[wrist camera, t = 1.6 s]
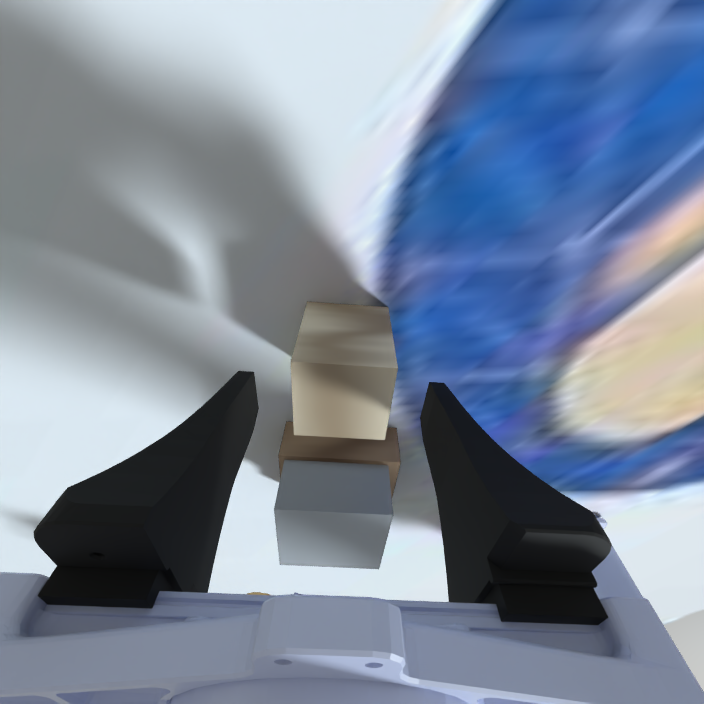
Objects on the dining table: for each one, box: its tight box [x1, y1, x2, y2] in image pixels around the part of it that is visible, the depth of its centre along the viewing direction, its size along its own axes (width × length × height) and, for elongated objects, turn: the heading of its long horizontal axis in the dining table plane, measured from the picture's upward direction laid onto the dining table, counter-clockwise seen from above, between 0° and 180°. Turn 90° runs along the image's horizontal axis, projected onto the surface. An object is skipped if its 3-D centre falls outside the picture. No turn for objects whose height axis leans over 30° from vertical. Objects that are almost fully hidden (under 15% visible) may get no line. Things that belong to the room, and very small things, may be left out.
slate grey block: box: [274, 460, 393, 569], centre depth 20 cm, size 6×6×3 cm
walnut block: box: [279, 422, 401, 498], centre depth 23 cm, size 7×7×3 cm
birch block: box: [291, 302, 398, 440], centre depth 16 cm, size 4×4×5 cm
